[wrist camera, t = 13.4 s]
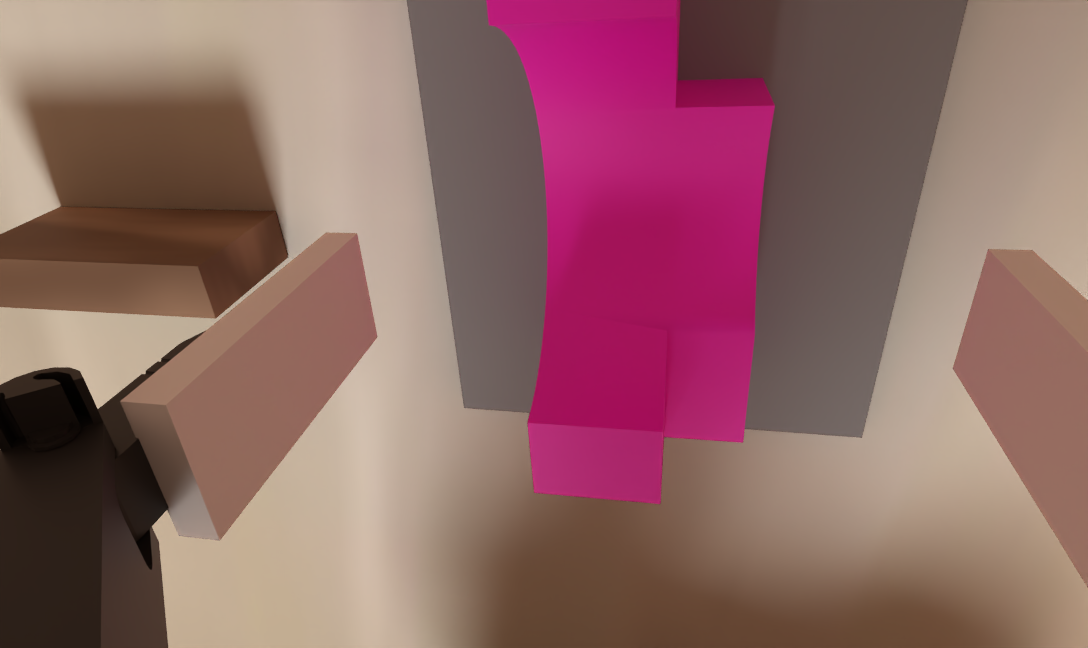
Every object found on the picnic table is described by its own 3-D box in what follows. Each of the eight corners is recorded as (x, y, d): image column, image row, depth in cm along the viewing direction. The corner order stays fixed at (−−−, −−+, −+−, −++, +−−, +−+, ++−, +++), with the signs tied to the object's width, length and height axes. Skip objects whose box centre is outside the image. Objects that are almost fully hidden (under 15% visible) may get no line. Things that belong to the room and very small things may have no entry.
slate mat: (857, 424, 27) (861, 437, 26) (469, 396, 30) (464, 407, 29) (1033, -324, 16) (1048, -335, 15) (382, -250, 18) (370, -256, 18)
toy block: (735, 364, 25) (750, 512, 19) (571, 356, 27) (534, 493, 20) (780, -107, 18) (828, -120, 12) (548, -88, 19) (477, -92, 13)
